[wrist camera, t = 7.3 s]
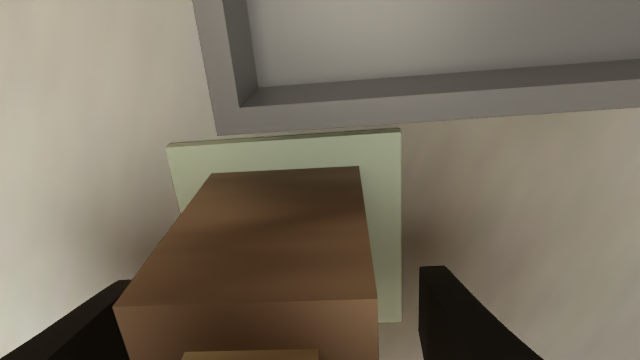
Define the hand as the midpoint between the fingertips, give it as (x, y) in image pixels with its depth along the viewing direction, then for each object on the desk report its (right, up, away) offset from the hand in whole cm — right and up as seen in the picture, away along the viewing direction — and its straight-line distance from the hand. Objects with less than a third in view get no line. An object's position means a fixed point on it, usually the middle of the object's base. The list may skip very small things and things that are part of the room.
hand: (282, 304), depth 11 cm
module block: (0, +1, +3) cm, 3 cm away
